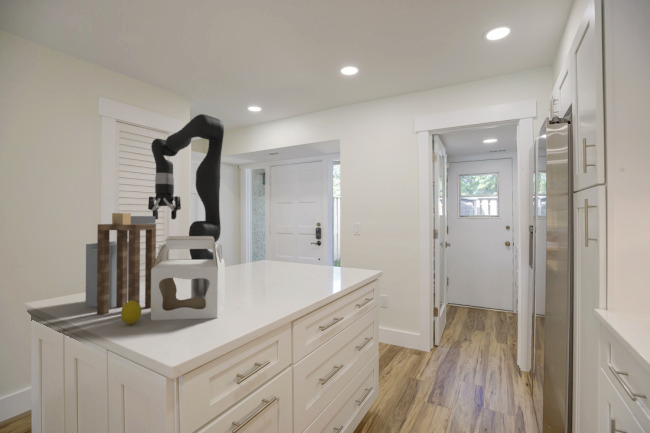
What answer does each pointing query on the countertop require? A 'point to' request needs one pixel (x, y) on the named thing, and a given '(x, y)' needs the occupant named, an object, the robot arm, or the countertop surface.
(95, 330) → the countertop surface
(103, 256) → the walnut stand
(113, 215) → the bar
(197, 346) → the countertop surface
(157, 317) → the gable box
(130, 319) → the lemon
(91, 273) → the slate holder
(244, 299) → the countertop surface
